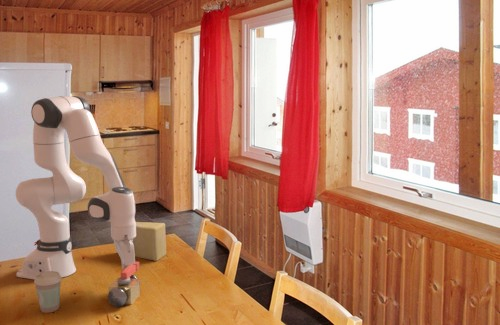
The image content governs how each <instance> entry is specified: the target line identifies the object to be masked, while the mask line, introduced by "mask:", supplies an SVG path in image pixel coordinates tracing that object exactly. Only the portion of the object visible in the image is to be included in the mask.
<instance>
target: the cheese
mask: <svg viewBox="0 0 500 325" xmlns="http://www.w3.org/2000/svg"><path fill="white" fill-rule="evenodd" d="M132 242H133V245H134V254H135V258H140V259H146V260H150V261H155V262H158V261H159V260H161V259H162V258H164V257H165V256H166V255H167V237H166V224H165V222H151V221H149V222H147V221H146V222H145V221H144V222H143V221H142V222H141V221H136V237H135V238H133V241H132ZM116 254H118V252H117V251H116Z"/></svg>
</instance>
